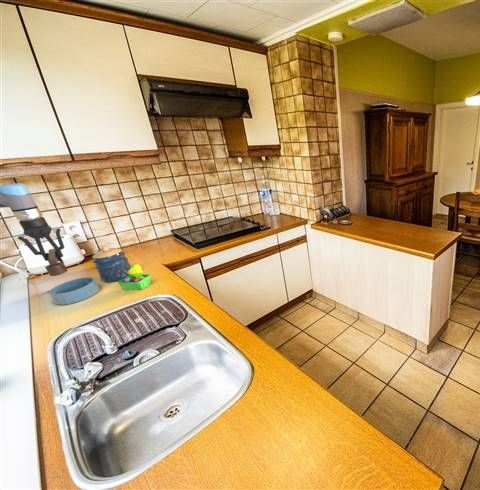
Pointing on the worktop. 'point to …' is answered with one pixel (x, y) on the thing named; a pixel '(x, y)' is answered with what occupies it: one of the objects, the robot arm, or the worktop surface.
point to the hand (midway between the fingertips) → (58, 264)
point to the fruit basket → (135, 279)
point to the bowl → (74, 291)
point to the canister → (111, 264)
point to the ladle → (55, 264)
